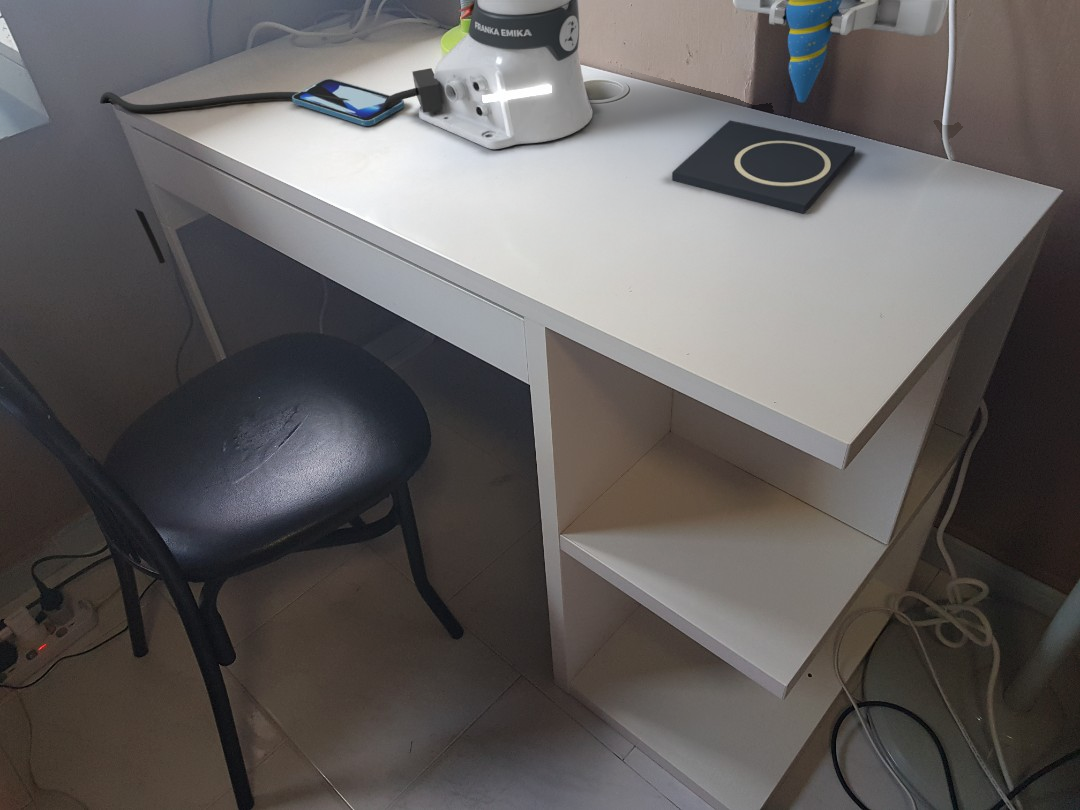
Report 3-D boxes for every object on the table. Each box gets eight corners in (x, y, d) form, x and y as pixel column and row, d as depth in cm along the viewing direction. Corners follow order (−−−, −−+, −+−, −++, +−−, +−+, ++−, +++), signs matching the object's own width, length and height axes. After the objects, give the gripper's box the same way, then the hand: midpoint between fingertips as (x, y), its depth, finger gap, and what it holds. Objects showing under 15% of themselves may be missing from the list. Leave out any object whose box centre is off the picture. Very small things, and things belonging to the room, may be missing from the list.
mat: (671, 180, 91) (672, 170, 91) (729, 128, 99) (729, 118, 98) (804, 214, 84) (805, 203, 84) (854, 155, 92) (856, 145, 92)
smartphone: (367, 122, 106) (288, 97, 113) (369, 129, 107) (290, 104, 113) (407, 100, 110) (328, 77, 117) (408, 107, 111) (329, 84, 117)
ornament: (832, 111, 81) (860, -60, 71) (778, 115, 81) (798, -55, 71) (819, 89, 85) (844, -77, 74) (768, 93, 85) (785, -72, 75)
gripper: (768, -70, 87) (706, -29, 80) (975, -50, 78) (928, -1, 70) (762, -6, 92) (703, 39, 84) (957, 21, 82) (911, 74, 74)
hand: (807, 21), depth 77 cm, fingers closed on ornament, 4 cm apart
